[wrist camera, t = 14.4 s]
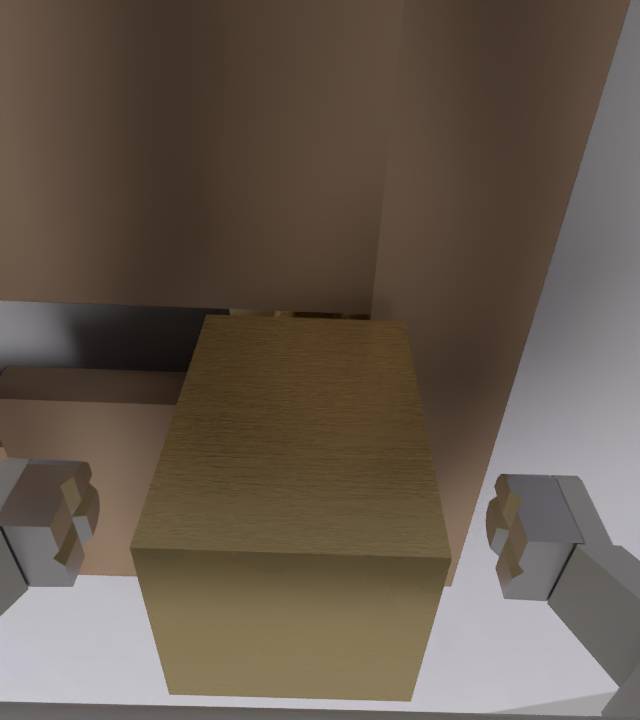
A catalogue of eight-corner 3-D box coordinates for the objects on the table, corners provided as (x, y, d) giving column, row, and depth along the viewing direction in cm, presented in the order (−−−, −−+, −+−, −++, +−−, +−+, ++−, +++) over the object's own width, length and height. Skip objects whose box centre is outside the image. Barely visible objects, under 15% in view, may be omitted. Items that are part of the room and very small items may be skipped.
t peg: (240, 338, 20) (159, 699, 10) (232, 206, 17) (112, 537, 8) (377, 343, 20) (419, 706, 10) (391, 212, 17) (469, 549, 8)
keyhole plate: (-127, 472, 24) (-207, 565, 21) (-522, -158, 12) (-874, -198, 9) (432, 491, 25) (451, 586, 21) (571, -106, 13) (669, -125, 9)
